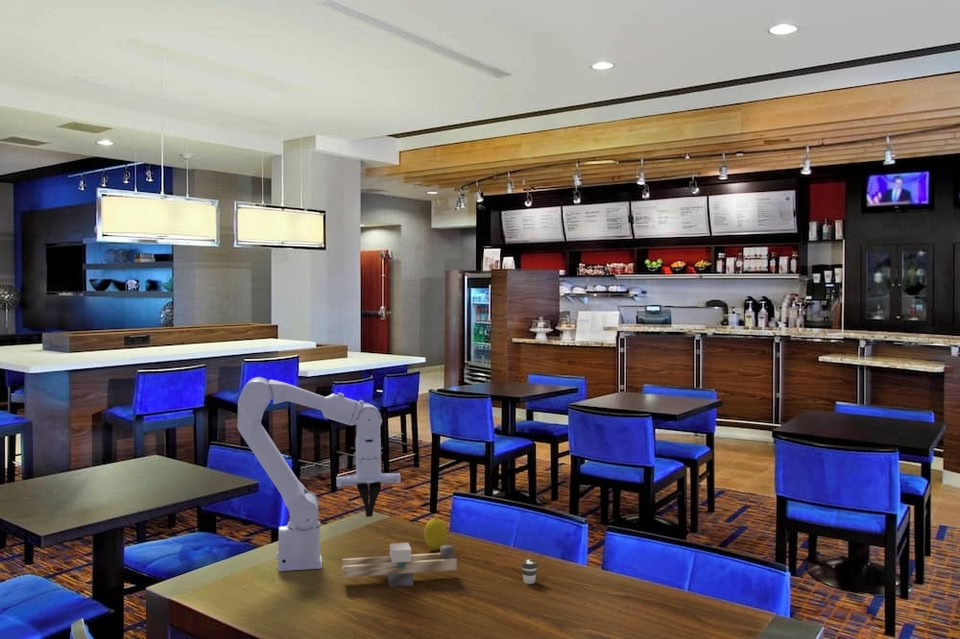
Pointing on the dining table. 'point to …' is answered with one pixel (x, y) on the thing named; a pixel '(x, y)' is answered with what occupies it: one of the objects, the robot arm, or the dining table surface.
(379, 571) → the beam
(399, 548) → the rider
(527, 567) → the coffee cup
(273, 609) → the dining table surface
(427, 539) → the lemon
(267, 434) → the robot arm
